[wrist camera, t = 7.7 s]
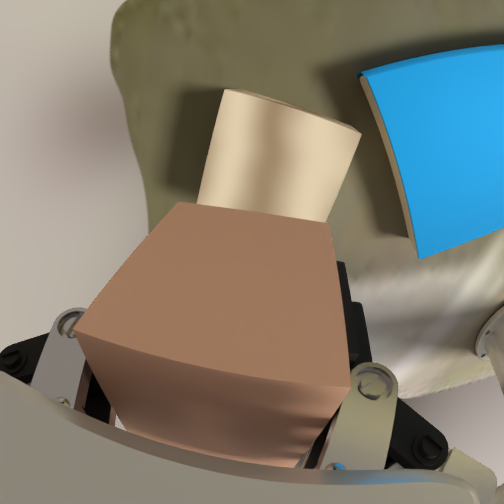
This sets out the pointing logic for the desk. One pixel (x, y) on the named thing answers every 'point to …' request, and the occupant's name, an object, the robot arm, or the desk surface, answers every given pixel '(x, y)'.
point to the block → (224, 335)
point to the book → (444, 142)
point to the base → (275, 158)
